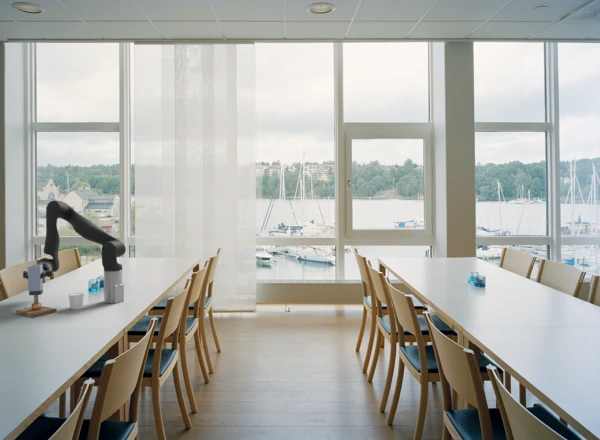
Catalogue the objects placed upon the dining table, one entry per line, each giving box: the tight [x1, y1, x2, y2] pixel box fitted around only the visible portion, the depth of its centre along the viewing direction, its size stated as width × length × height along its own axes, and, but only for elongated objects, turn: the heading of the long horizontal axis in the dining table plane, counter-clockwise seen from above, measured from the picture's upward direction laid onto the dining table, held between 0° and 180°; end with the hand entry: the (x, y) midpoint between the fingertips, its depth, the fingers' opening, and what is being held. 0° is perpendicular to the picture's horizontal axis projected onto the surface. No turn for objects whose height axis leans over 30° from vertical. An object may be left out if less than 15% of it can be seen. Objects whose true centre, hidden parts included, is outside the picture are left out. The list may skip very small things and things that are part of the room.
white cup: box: [68, 292, 85, 310], centre depth 217 cm, size 7×7×7 cm
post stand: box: [15, 295, 58, 318], centre depth 207 cm, size 14×11×16 cm
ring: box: [28, 288, 44, 296], centre depth 207 cm, size 5×5×2 cm
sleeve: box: [27, 264, 44, 292], centre depth 207 cm, size 5×5×12 cm
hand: (34, 276), depth 204 cm, fingers closed on sleeve, 5 cm apart
